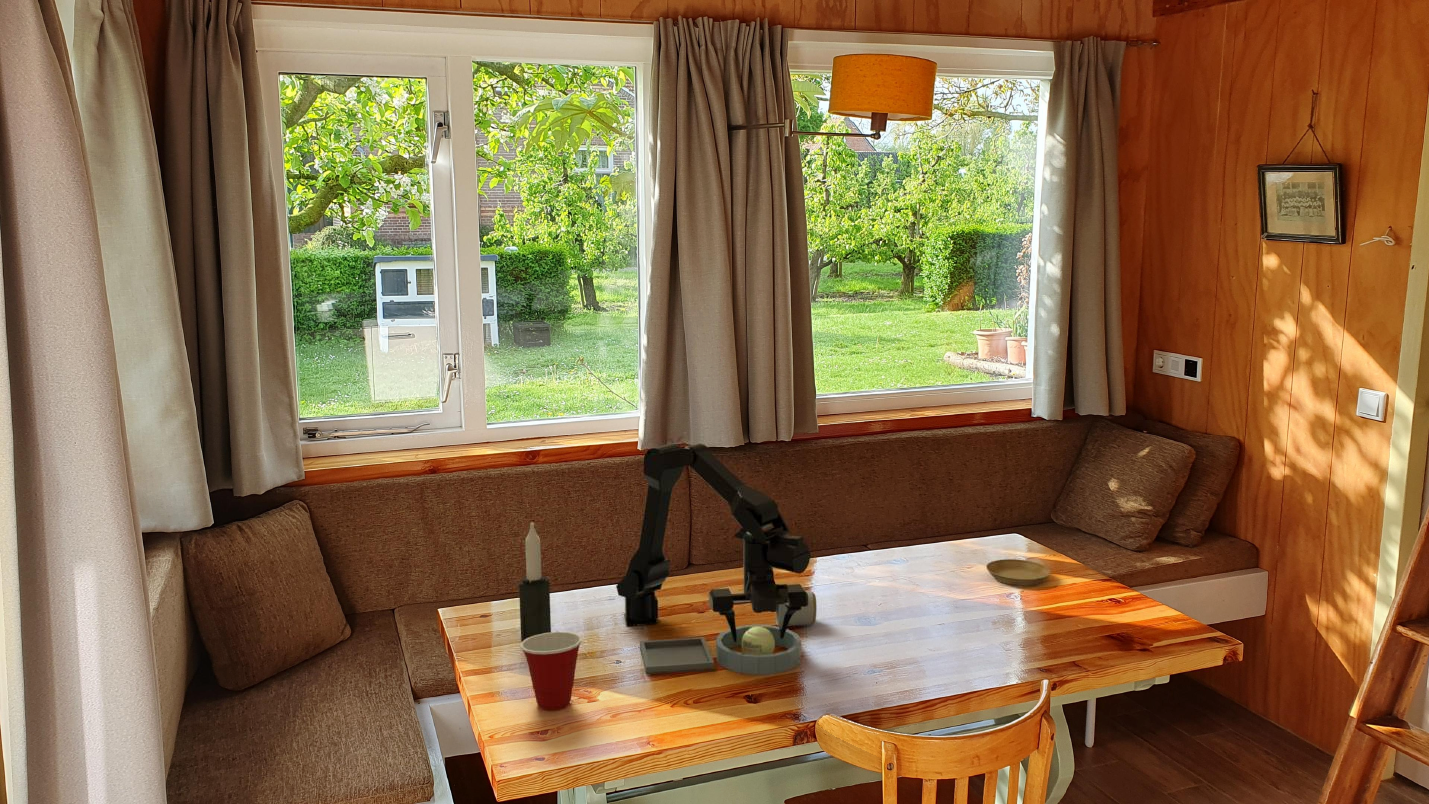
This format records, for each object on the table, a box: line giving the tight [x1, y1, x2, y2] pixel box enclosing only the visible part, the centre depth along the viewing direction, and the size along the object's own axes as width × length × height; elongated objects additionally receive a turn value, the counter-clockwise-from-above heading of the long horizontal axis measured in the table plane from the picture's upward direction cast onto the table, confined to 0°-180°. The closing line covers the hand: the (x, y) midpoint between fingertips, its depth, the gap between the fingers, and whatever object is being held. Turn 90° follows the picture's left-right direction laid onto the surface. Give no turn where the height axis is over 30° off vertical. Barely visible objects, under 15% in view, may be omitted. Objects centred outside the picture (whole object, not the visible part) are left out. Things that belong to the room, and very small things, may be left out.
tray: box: [639, 636, 715, 676], centre depth 214 cm, size 13×13×2 cm
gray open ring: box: [715, 624, 802, 676], centre depth 214 cm, size 16×16×4 cm
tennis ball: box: [741, 626, 776, 655], centre depth 214 cm, size 6×7×7 cm
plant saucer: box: [985, 558, 1052, 587], centre depth 260 cm, size 15×15×3 cm
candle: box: [518, 521, 552, 643], centre depth 221 cm, size 5×5×25 cm
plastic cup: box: [519, 631, 583, 712], centre depth 194 cm, size 11×11×12 cm
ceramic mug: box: [775, 590, 818, 627], centre depth 233 cm, size 11×8×8 cm
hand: (758, 639), depth 214 cm, fingers open, 9 cm apart
